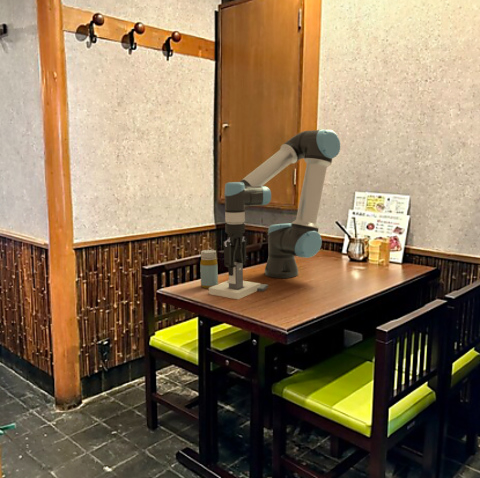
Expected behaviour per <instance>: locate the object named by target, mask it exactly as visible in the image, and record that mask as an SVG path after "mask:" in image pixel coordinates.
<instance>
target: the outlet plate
mask: <svg viewBox="0 0 480 478" xmlns="http://www.w3.org/2000/svg"><path fill="white" fill-rule="evenodd" d="M261 284H262V283H260V282H253V281H246V280H243V288H241V289H239V290H234V289H229V279H228V280H225V281H223V282H221V283H218V285H215V286H212V287H210V288H209V289H208V295H212V296H218V297H223V298H229V299H234V300H240V299H242V298H244V297H246V296H247V297H248V296H249V295H251V294H253V293H255V292H258V291H257V288H259V287H261Z"/></svg>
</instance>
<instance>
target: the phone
mask: <svg viewBox="0 0 480 478" xmlns="http://www.w3.org/2000/svg"><path fill="white" fill-rule="evenodd" d="M268 288H269V284H267V283H266V284H265V283H264V284H263V283H261V287H259V288H257V291H256V292H265V291H266V290H267V289H268Z"/></svg>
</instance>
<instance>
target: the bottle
mask: <svg viewBox="0 0 480 478" xmlns="http://www.w3.org/2000/svg"><path fill="white" fill-rule="evenodd" d="M200 258H201V259H200V264H199V265H200V266H199V267H200V286H201V288H203V289H208V290H209V288H210V287H212V286H215V285H218V284H219V280H218V279H219V278H218V277H219V276H218V272H219V271H218V261H217V250H214V249H204V250H201V251H200Z"/></svg>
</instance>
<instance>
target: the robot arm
mask: <svg viewBox="0 0 480 478" xmlns="http://www.w3.org/2000/svg"><path fill="white" fill-rule="evenodd" d="M279 148H280V149H279V150H278V151H276V152H275V153H274V154H273V155H272V156H270V157H269V158H268V159H266V160H265V161H264V162H262V163H261V164H260V165H259V166H258V167H256V168H255V169H253V170H252V171H251V172H250V173H248V174H247V175H246V176H245V177H244V178H242V179H241V180H240V181H233V182H231V181H230V182H229V181H228V182H226V183H225V185H224V213H225V215H224V216H225V217H224V219H225V224H224V225H225V227H224V229H225V230H224V231H225V233H226V234H227V238H226V240H224V241H222V246H223V259H224V261H223V262H224V263H223V264H224V267H226V268H227V270H228V271H227V272H228V280H229V283H232V284H236V270H235V267H234V262H239V263H243V266H245V265H246V262H247V241H248V237H246V236H244V235H243V234H244V233H245V232H246V224H245V222H246V214H245V213H246V212H245V209H246V207H254V206H255V207H258V206H261V207H262V206H267V205H268V204H270V202H271V200H272V191H271V188H269V187H268V186H266V184H267V183H268V182H269V181H270V180H272V179H273V178H274V177H276V176H277V175H278V174H279V173H280V172H282V171H283V170H284V169H285V168H287V167H289V165H291V164H295V163H297V162H298V161H300V160H303V161H304V162H305V163H306V167H305V171H304V172H305V173H304V176H303V177H304V178H303V182H302V186H301V192H300V196H299V201H298V202H299V203H298V208H297V212H296V219H295V220H294V221H292V222H291V223H290V222H288V223H278V224H277V223H275V224H270V225H269V226H268V230H267V241H268V258H267V262H266V264H265V267H264V276H266V277H269V278H275V279H289V278H294V277H296V276H299V268H298V265H297V262H296V259H295V256H296V257H299V258H306V259H309V258H310V259H311V258H312V257H314V256H315V255H317V254H318V253H319V251H320V250H321V248H322V244H323V243H322V242H323V241H322V235H321V234H320V233H319V228H320V227H319V225H318V224H317V220H318V216H319V215H318V214H319V210H320V206H321V199H322V196H323V195H322V194H323V191H324V190H323V189H324V183H325V180H326V179H325V178H326V173H327V169H328V167H330V166H331V165H332V162H333V159H334V158H336V157H337V156H338V155H339V154H340V151H341V141H340V138H339V137H338V134H337V133H336V132H335V131H334V130H333V129H316V130H315V129H314V130H303V131H301V132H299V133H297V134H295V135H294V136H292V137H291V138H289V140H287V141H285V142H284V143H283V144H281V146H280V147H279ZM235 259H236V260H235Z"/></svg>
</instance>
